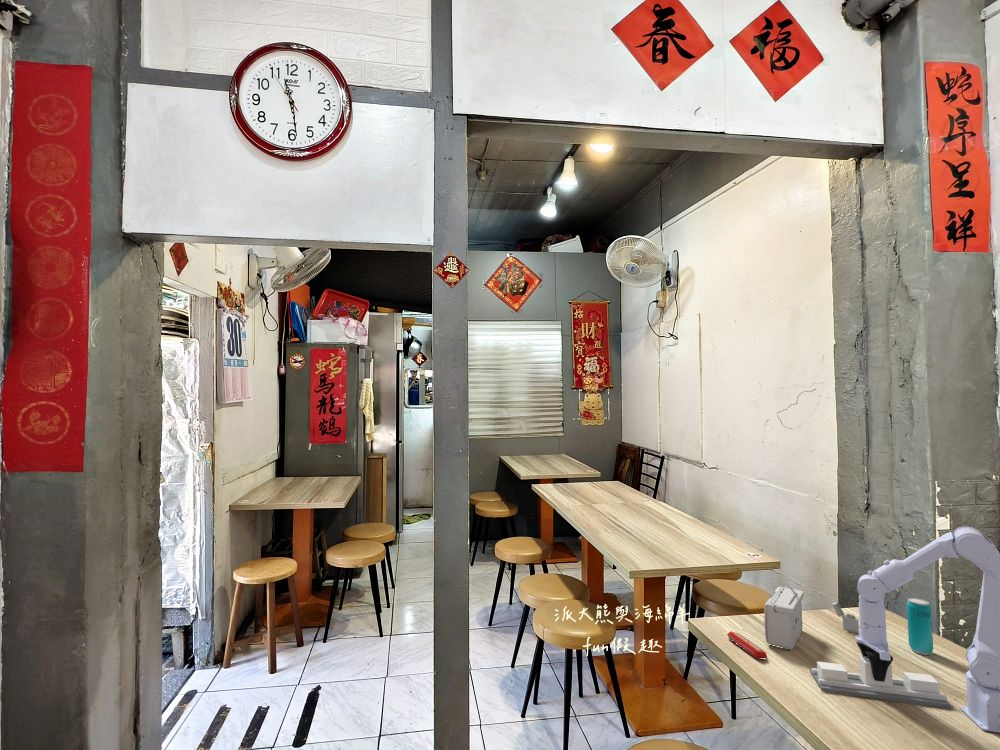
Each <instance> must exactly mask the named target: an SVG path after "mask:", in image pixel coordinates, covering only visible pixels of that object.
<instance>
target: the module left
mask: <svg viewBox="0 0 1000 750" xmlns="http://www.w3.org/2000/svg"><path fill="white" fill-rule="evenodd" d="M816 669H817V675H818V676H819V678H820V679H825V680H833V681H841V682H848V674H847V672H848V670H847V669H846V668H845V667H844V665H843V664H840V663H833V662H824V661H816Z"/></svg>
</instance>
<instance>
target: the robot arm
mask: <svg viewBox="0 0 1000 750" xmlns="http://www.w3.org/2000/svg"><path fill="white" fill-rule="evenodd" d="M958 554H959V555H961V557H963V558H965V559H966V560H968V561H970V562H972V563H974V564H975V565H976V566H977V567H978V569H980V570H981V571H982V572H983V575H982V582H981V583H982V584H981V590H980V598H979V604H978V611H977V612H978V613H977V619H976V627H975V633H974V636H973V640H972V643H971V645H970V646H969V647H967V649H966V651H965V658H966V660H967V662H968V665H969V666H968V668H969V670H968V671H966V673H965V679H966V680H965V681H966V694H967V695H966V697H967V698H966V699H967V706H965V705H959V709H960V710H961V711H962V712H963V713H965V715H966V716H968V717H969V719H971V721H973V723H975V724H976V725H977V727H979V729H981V730H983V731H985V732H986V731H987V732H990V733H991V732H992V733H1000V552H999V550H998V549H997V547H996V546H995V544H994V543H993V542H992V540H991V539H990V538H989V537H988V536H987V535H985V534H984V533H983V532H982V531H980V530H979V529H977V528H975V527H972V526H960V527H957V528H955V529H954V530H953V531H949V532H947V533H944V534H943V535H941V536H939V537H938V538H936V539H934V540H932V541H931V542H929V543H928V544H926V545H925V546H923V547H922V548H920V549H918V550H917V551H915V552H914V553H912V554H910V555H909V556H907V557H906V558H905V559H901V560H900V559H896V558H893V559H891V560H889V559H886V560H883V565H882V566H879V567H878V568H876V569H874V570H871V569H870V570H868V571H867V574H863V575H861V576H860V577H859V579H858V580H857V586H856V589H857V592H858V594H859V595H858V601H859V602H858V613H859V614H858V617H859V618H858V619H859V633H858V636H855V638H854V639H855V641H856V644H857V646H858V648H859V650H860V653H861V656H866V657H868V659H869V661H870V664H871V669H872V674H873V677H874V680H875V681H882V682H884V681H885V677H886V673H887V669H888V667H889V665H891V664H892V663H893V661H894V657H893V655H891V652H890V650H889V642H888V634H887V619H886V617H887V616H886V607H885V604H884V603H885V602H884V599H885V596H886V594H887V593H891V592H893V591H895V590H896V589H899V588H900V587H902V586H904V585H905V584H907V583H909V582H911V581H912V580H913V578H914V573H915V572H917V571H918V570H920V569H923V568H924V567H927V566H928V565H930V564H932V563H934V562H936V561H938V560H940V559H942V558H949V559H950V558H951V559H952V558H953V559H959V557H960V556H959V555H958Z"/></svg>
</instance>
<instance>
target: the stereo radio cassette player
mask: <svg viewBox="0 0 1000 750" xmlns="http://www.w3.org/2000/svg"><path fill="white" fill-rule="evenodd" d="M786 586H788V587H785V586H778V587H777V588H776V589H775V590H774V591H773V593H772V595H770V597H769V598H768V600H767V601H765V602H766V603H765V604H764V608H763V610H764V611H763V612H764V613H763V615H764V616H763V617H764V618H763V620H764V621H763V622H764V623H763V624H764V635H765V636H764V637H765V642H766V643H767V644H771V645H775V646H779V647H783V648H787V649H790V650H791V651H793V649H794V647H795V645H796V643H797V641H798V639H799V637H800V635H801V634H802V631H803V612H802V611H803V610H802V609H803V608H802V607H803V605H802V604H803V603H802V600H803V598H804V597H805V591H802V590H799V589H795V588H792V587H791V586H790V585H789V583H786ZM792 648H793V649H792ZM787 649H786V650H787Z"/></svg>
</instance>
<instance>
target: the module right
mask: <svg viewBox="0 0 1000 750" xmlns="http://www.w3.org/2000/svg"><path fill="white" fill-rule="evenodd" d="M902 676H903V677H902V679H903V682H904V686H905V688H906V689H907V690H911V691H918V692H926V693H934V694H939V693H940V687H939V686H940V685H939V682H938V681H937V680H936V679H935V678H934V677H933V676H932V675H930V674H925V673H918V672H909V671H902Z"/></svg>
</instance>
